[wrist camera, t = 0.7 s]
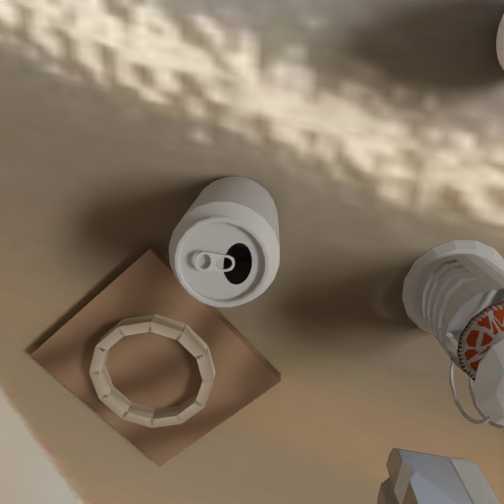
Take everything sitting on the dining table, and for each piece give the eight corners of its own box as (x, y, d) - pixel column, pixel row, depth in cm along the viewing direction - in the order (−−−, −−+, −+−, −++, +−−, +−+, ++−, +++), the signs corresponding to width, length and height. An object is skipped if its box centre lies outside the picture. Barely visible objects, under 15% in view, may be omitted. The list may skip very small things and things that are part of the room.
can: (270, 262, 41) (269, 326, 29) (189, 249, 41) (157, 308, 29) (284, 182, 38) (290, 218, 27) (198, 167, 38) (168, 198, 27)
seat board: (36, 348, 45) (22, 364, 42) (152, 244, 41) (145, 254, 38) (162, 458, 49) (156, 478, 46) (280, 373, 45) (280, 390, 42)
